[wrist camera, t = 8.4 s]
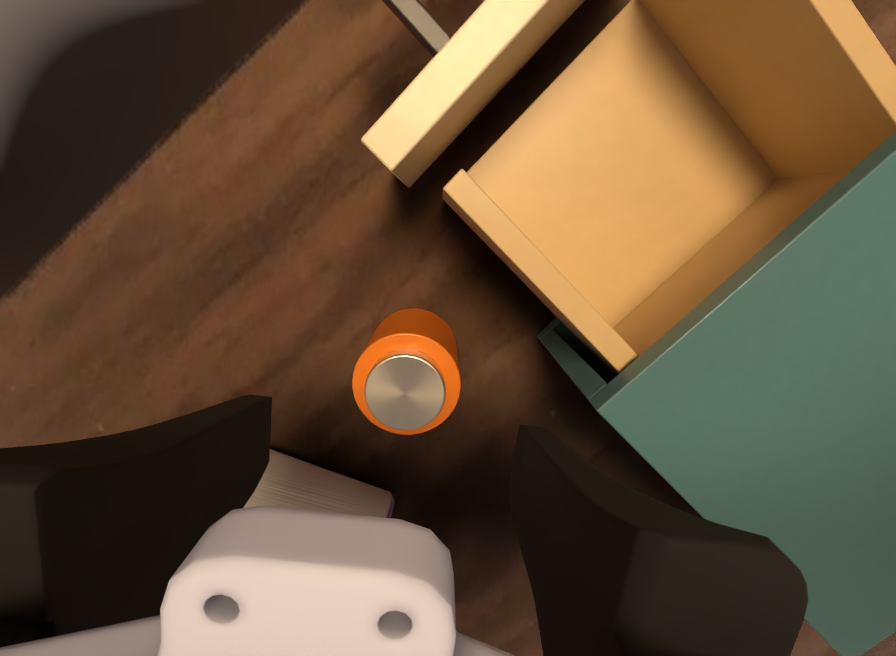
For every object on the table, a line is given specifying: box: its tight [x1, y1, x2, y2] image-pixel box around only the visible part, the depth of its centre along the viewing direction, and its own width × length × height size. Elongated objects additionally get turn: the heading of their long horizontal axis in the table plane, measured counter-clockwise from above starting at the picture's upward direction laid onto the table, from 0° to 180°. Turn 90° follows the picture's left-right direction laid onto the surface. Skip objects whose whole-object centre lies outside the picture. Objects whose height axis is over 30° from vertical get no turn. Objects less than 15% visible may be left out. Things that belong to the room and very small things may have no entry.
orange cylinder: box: [352, 308, 461, 435], centre depth 19 cm, size 4×4×6 cm
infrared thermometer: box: [243, 449, 394, 518], centre depth 23 cm, size 5×12×15 cm
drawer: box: [361, 0, 896, 376], centre depth 15 cm, size 17×12×7 cm
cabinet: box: [537, 131, 896, 656], centre depth 18 cm, size 14×14×9 cm
